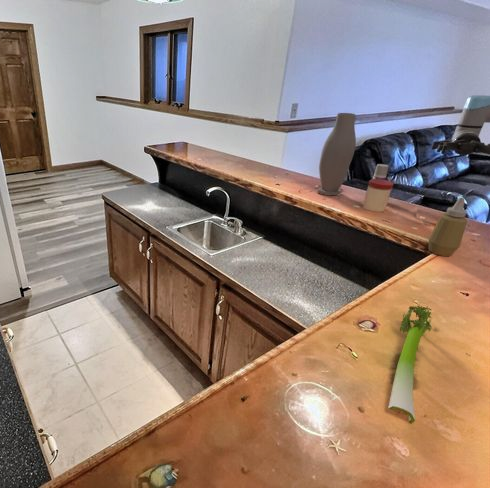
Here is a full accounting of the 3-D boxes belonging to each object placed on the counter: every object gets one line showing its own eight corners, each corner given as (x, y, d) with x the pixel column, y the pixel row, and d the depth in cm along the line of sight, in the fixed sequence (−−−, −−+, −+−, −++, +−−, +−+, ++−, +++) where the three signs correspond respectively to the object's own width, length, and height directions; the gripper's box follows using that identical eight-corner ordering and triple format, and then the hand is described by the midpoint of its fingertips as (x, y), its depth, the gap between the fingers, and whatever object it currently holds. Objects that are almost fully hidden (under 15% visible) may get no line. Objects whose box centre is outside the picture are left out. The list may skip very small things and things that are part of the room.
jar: (385, 207, 147) (393, 182, 142) (384, 213, 140) (392, 188, 136) (363, 203, 151) (369, 179, 146) (361, 209, 144) (368, 184, 140)
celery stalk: (372, 413, 60) (395, 314, 80) (418, 439, 56) (430, 329, 77) (387, 393, 56) (408, 295, 77) (437, 419, 53) (445, 310, 74)
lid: (367, 187, 140) (368, 182, 139) (369, 182, 147) (370, 177, 146) (392, 190, 136) (393, 186, 135) (392, 185, 143) (393, 181, 142)
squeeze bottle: (423, 244, 115) (443, 192, 107) (454, 250, 111) (477, 196, 103) (425, 254, 109) (446, 199, 101) (457, 261, 105) (482, 204, 97)
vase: (329, 187, 170) (346, 111, 155) (350, 195, 160) (372, 114, 144) (307, 190, 166) (323, 112, 150) (328, 199, 155) (347, 115, 140)
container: (381, 199, 156) (391, 165, 149) (375, 200, 154) (385, 167, 147) (371, 196, 160) (380, 163, 153) (365, 197, 157) (374, 164, 151)
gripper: (506, 158, 123) (516, 170, 107) (421, 149, 136) (419, 158, 120) (516, 136, 119) (528, 145, 104) (428, 129, 132) (427, 136, 117)
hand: (470, 152), depth 112 cm, fingers open, 13 cm apart
